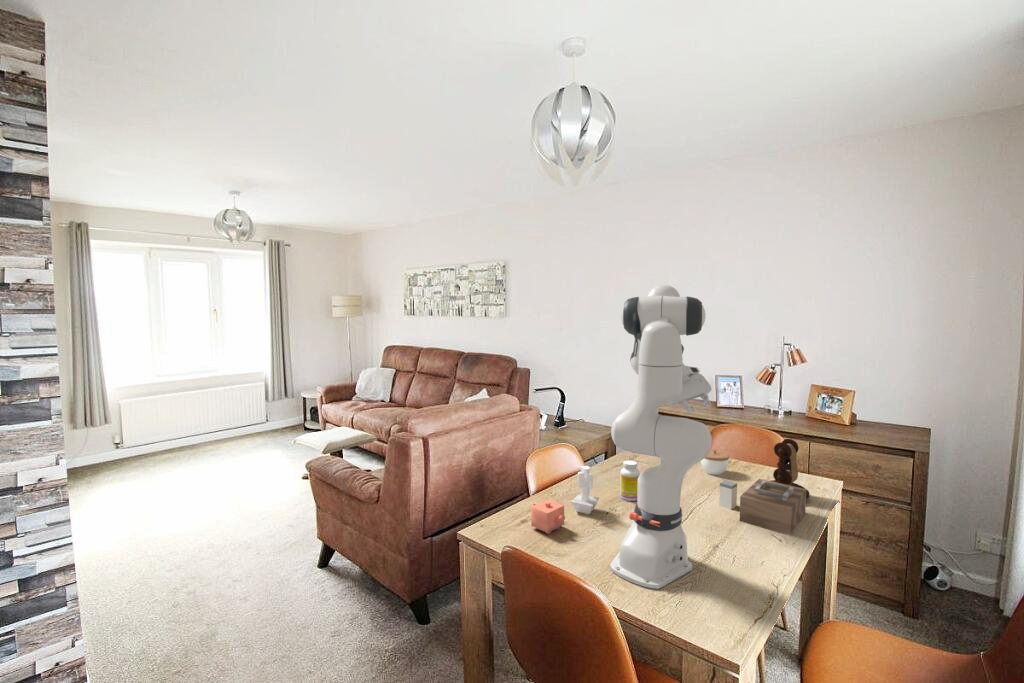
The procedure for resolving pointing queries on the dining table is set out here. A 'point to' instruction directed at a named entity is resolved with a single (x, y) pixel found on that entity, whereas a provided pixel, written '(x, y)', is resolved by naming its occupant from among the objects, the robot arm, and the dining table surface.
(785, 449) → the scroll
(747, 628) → the dining table surface
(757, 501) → the block
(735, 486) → the grey white rectangular block
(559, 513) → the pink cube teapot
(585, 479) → the figurine
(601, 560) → the dining table surface
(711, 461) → the lidded jar
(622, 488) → the supplement bottle
